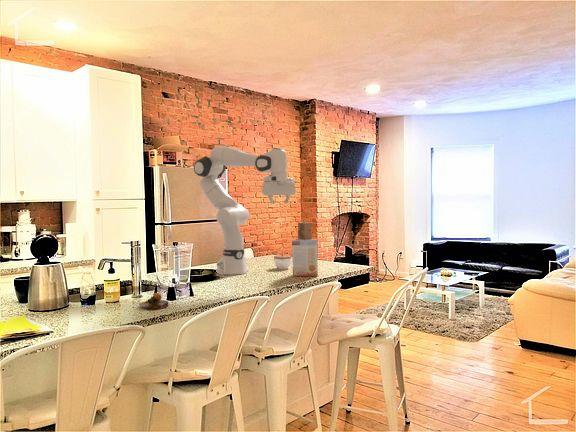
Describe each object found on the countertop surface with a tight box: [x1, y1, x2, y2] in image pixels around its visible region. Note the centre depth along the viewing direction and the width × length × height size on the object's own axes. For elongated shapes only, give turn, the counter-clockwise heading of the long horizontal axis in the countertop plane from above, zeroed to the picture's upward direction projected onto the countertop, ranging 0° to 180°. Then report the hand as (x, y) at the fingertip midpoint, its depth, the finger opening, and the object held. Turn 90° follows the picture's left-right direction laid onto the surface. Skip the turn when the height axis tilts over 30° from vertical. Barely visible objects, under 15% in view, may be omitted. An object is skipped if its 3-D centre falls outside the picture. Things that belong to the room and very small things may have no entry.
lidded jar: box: [273, 252, 292, 270], centre depth 290 cm, size 11×11×9 cm
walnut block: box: [297, 221, 313, 239], centre depth 264 cm, size 6×5×9 cm
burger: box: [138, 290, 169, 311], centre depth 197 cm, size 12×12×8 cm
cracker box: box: [291, 238, 319, 277], centre depth 265 cm, size 14×6×21 cm, turn 84°
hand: (279, 203), depth 255 cm, fingers open, 8 cm apart
